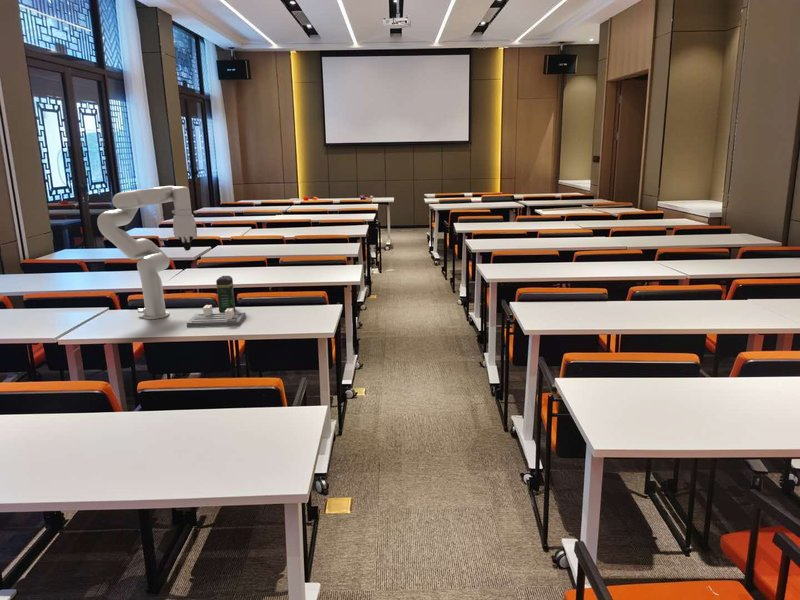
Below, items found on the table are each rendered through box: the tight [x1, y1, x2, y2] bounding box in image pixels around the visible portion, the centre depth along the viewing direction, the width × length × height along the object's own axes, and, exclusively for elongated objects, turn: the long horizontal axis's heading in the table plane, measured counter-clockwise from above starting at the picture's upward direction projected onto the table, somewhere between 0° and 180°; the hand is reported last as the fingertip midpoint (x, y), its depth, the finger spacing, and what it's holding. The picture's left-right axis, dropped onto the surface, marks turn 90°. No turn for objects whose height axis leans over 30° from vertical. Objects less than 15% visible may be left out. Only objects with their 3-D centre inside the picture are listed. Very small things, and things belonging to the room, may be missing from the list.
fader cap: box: [225, 308, 235, 319], centre depth 287 cm, size 3×5×4 cm, turn 2°
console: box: [185, 304, 247, 328], centre depth 290 cm, size 25×15×7 cm, turn 92°
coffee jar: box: [215, 275, 236, 313], centre depth 306 cm, size 10×8×19 cm
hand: (187, 250), depth 288 cm, fingers closed
